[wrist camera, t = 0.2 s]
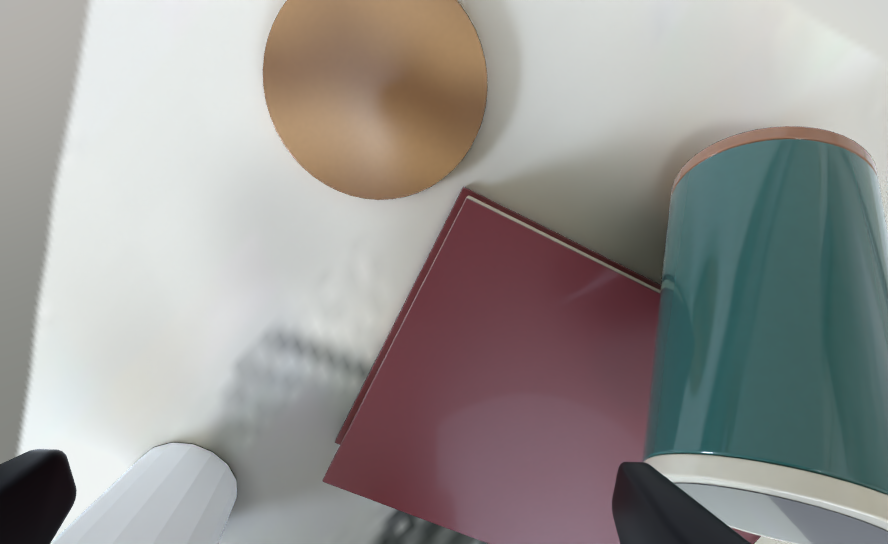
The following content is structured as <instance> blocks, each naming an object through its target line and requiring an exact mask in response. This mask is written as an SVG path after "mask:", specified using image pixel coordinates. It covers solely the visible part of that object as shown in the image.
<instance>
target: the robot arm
mask: <svg viewBox="0 0 888 544" xmlns="http://www.w3.org/2000/svg"><path fill="white" fill-rule="evenodd" d="M75 498H76V486H75V483H74V479H73V476H72V472H71V469H70V466H69V462H68V459H67V456H66V455H65V454H64V453H63V452H62V451H60V450H47V449H37V450H31V451H28V452H26V453H24V454H22V455H20V456H17V457H15V458H13V459H11V460H9V461H6V462H4V463H2V464H0V544H50V543H51V541H52V539H53V538H54V536H55V534H56V533H57V531H58V529H59V528H60V526H61V524H62V523H63V521H64V519H65V518H66V516H67V515H68V513H69V511H70V510H71V508H72V506H73V504H74V501H75ZM612 513H613V518H614V521H615V525H616V529H617V533H618V537H619V540H620V544H751V543H750V542H748V541H747V540H746V539H745V538H743V537H742V536H741V535H739V534H738V533H737V532H736V531H734V530H733V529H732V528H730V527H729V526H728V525H727V524H725V523H724V522H723V521H721V520H720V519H719V518H718V517H716V516H715V515H714V514H713V513H711V512H710V511H709V510H707V509H706V508H705V507H704V506H702V505H701V504H700V503H698V502H697V501H696V500H695V499H693V498H692V497H691V496H689V495H688V494H687V493H686V492H684V491H683V490H682V489H680V488H679V487H678V486H677V485H675V484H674V483H673V482H671V481H670V480H669V479H668V478H666V477H665V476H664V475H662V474H661V473H660V472H659V471H657V470H656V469H655V468H654V467H652V466H651V465H649V464H648V463H645V462H623V463H621V464H620V466H619V468H618V472H617V477H616V482H615V487H614V492H613V497H612Z"/></svg>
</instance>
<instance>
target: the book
mask: <svg viewBox="0 0 888 544" xmlns="http://www.w3.org/2000/svg"><path fill="white" fill-rule="evenodd" d="M660 291H661V285H660V284H658V283H656V282H654V281H652V280H650V279H648V278H646V277H644V276H642V275H640V274H638V273H636V272H634V271H632V270H630V269H628V268H626V267H624V266H622V265H620V264H618V263H616V262H614V261H612V260H610V259H608V258H606V257H604V256H602V255H600V254H598V253H596V252H594V251H592V250H590V249H588V248H586V247H584V246H582V245H580V244H578V243H576V242H574V241H572V240H570V239H568V238H566V237H564V236H562V235H560V234H558V233H556V232H554V231H552V230H550V229H548V228H546V227H544V226H542V225H540V224H538V223H536V222H534V221H532V220H530V219H528V218H526V217H524V216H522V215H520V214H518V213H516V212H514V211H511V210H509V209H507V208H505V207H503V206H501V205H499V204H497V203H495V202H493V201H491V200H489V199H487V198H485V197H483V196H481V195H479V194H477V193H475V192H473V191H471V190H469V189H467V188H465V187H463V188H462V190H461V192H460V194H459V196H458V198H457V200H456V202H455V204H454V206H453V208H452V210H451V212H450V214H449V216H448V218H447V220H446V222H445V224H444V226H443V228H442V230H441V232H440V234H439V236H438V238H437V240H436V242H435V244H434V246H433V248H432V250H431V252H430V254H429V256H428V258H427V260H426V262H425V264H424V266H423V268H422V270H421V272H420V274H419V276H418V278H417V280H416V281H415V283H414V285H413V287H412V289H411V291H410V293H409V295H408V297H407V299H406V301H405V303H404V305H403V307H402V309H401V311H400V313H399V315H398V317H397V319H396V321H395V323H394V325H393V327H392V329H391V331H390V333H389V335H388V337H387V339H386V341H385V343H384V345H383V347H382V349H381V351H380V353H379V355H378V357H377V359H376V361H375V363H374V365H373V367H372V369H371V371H370V373H369V375H368V377H367V379H366V381H365V383H364V385H363V387H362V389H361V391H360V393H359V395H358V397H357V398H356V400H355V402H354V404H353V406H352V408H351V410H350V412H349V414H348V416H347V418H346V420H345V422H344V424H343V426H342V428H341V430H340V432H339V434H338V436H337V438H336V440H335V443H337V444H340V447H339V448H338V450H337V452H336V454H335V456H334V458H333V460H332V462H331V464H330V466H329V468H328V470H327V472H326V474H325V476H324V478H323V482H325V483H328V484H331V485H333V486H336V487H339V488H341V489H344V490H347V491H349V492H352V493H355V494H357V495H360V496H363V497H365V498H368V499H371V500H373V501H376V502H379V503H381V504H384V505H387V506H389V507H392V508H395V509H397V510H400V511H403V512H405V513H408V514H411V515H413V516H416V517H419V518H421V519H424V520H427V521H429V522H432V523H435V524H437V525H440V526H443V527H446V528H448V529H451V530H454V531H456V532H459V533H462V534H464V535H467V536H470V537H472V538H475V539H478V540H480V541H483V542H486V543H488V544H620V540H619V537H618V533H617V529H616V525H615V521H614V518H613V513H612V497H613V492H614V487H615V482H616V477H617V472H618V468H619V466H620V464H621V463H623V462H642V456H643V447H644V437H645V428H646V419H647V410H648V401H649V392H650V382H651V373H652V364H653V355H654V346H655V337H656V327H657V318H658V309H659V300H660ZM730 528H731V527H730ZM732 529H733V530H734V531H736V532H737V533H738V534H739V535H741V536H742V537H743V538H745V539H746V540H747V541H748V542H750V543H751V544H754V543H755V542H756V541H757V540H758V539H759V538H760V537H761V536H759V535H755V534H752V533H748V532H745V531H741V530H738V529H734V528H732Z"/></svg>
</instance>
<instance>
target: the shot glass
mask: <svg viewBox="0 0 888 544" xmlns="http://www.w3.org/2000/svg"><path fill="white" fill-rule="evenodd" d="M236 498H237V481H236V479H235V477H234V475H233V473H232V471H231V470H230V468H229V466H228V465H227V464H226V463H225V462H224V461H223V460H221V459H220V458H219V457H218V456H217V455H215V454H214V453H213V452H211V451H208V450H206V449H203V448H201V447H199V446H196V445H194V444H184V443H169V444H165V445H161V446H157V447H153V448H152V449H151V450H150V451H148V452H147V453H146V454H145V455H143V456H142V457H141V458H140V459H139V460H138V461H137V462H136V463H134V464H133V465H132V466H131V467H130V468H129V469H128V470H127V471H126V472H125V473H124V474H123V475H122V476H121V477H120V478H119V479H118V480H117V481H116V482H114V483H113V484H112V485H111V486H110V487H109V488H108V489H107V490H106V491H105V492H104V493H103V494H102V495H101V496H100V497H99V498H98V499H97V500H95V501H94V502H93V503H92V504H91V505H90V506H89V507H88V508H87V509H86V510H85V511H84V512H83V513H82V514H81V515H80V516H79V517H78V518H76V519H75V520H74V521H73V522H72V523H71V524H70V525H69V526H68V527H67V528H66V529H65V530H64V531H63V532H62V533H61V534H60V535H59V536H57V537H56V538H55V539H54V540H53V541H52V542H51V543H50V544H218V543H219V540H220V538H221V535H222V533H223V530H224V528H225V525H226V523H227V520H228V518H229V515H230V513H231V510H232V508H233V505H234V503H235V500H236Z"/></svg>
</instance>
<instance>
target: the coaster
mask: <svg viewBox="0 0 888 544" xmlns="http://www.w3.org/2000/svg"><path fill="white" fill-rule="evenodd" d="M263 86H264V93H265V99H266V104H267V107H268V111H269V114H270V117H271V120H272V122H273V125H274V127H275V129H276V132H277V133H278V135H279V137H280V139H281V140H282V142H283V144H284V145H285V147H286V148H287V150H288V151H289V152H290V154H291V155H292V156H293V158H294V159H295V160H296V161H297V162H298V163H299V164H300V165H301V166H302V167H303V168H304V169H305V170H306V171H307V172H309V173H310V174H311V175H312V176H313V177H315V178H316V179H318V180H319V181H321V182H322V183H324V184H325V185H327V186H329V187H331V188H333V189H335V190H337V191H340V192H342V193H345V194H348V195H351V196H355V197H360V198H364V199H375V200H384V199H396V198H401V197H406V196H409V195H412V194H416V193H419V192H421V191H423V190H425V189H427V188H429V187H431V186H433V185H434V184H436V183H437V182H439V181H440V180H442V179H443V178H444V177H445V176H447V175H448V174H449V173H450V172H451V171H453V169H454V168H455V167H456V166H457V165H458V164H459V163H460V162H461V161H462V159H463V158H464V156H465V155H466V154H467V152H468V151H469V149H470V148H471V146H472V144H473V142H474V140H475V138H476V136H477V134H478V131H479V129H480V126H481V123H482V120H483V116H484V112H485V107H486V99H487V70H486V63H485V57H484V54H483V50H482V46H481V43H480V40H479V38H478V35H477V33H476V30H475V28H474V26H473V24H472V22H471V21H470V19H469V17H468V15H467V14H466V12H465V11H464V9H463V8H462V7H461V5H460V4H459V3H458V1H457V0H287V1H286V2H285V4H284V5H283V7H282V8H281V9H280V11H279V13H278V15H277V17H276V19H275V21H274V23H273V25H272V28H271V31H270V33H269V36H268V39H267V44H266V48H265V53H264V63H263Z"/></svg>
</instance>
